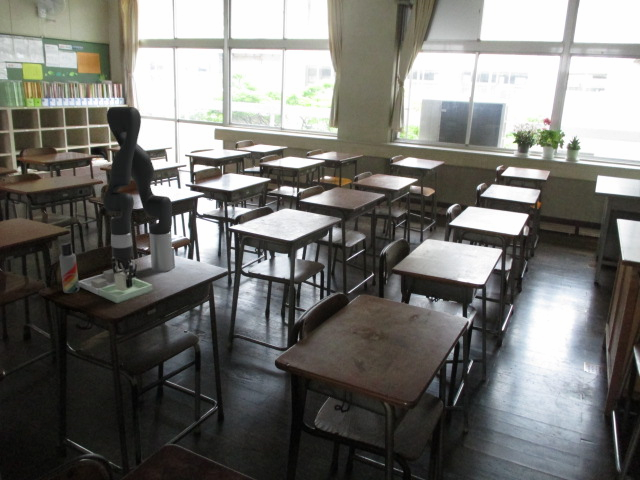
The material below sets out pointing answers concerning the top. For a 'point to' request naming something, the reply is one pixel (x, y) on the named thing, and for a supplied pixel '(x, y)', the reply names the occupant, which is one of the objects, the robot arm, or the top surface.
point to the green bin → (120, 296)
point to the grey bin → (88, 286)
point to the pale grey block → (99, 283)
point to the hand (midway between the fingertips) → (125, 285)
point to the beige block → (120, 281)
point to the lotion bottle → (68, 269)
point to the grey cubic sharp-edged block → (109, 275)
